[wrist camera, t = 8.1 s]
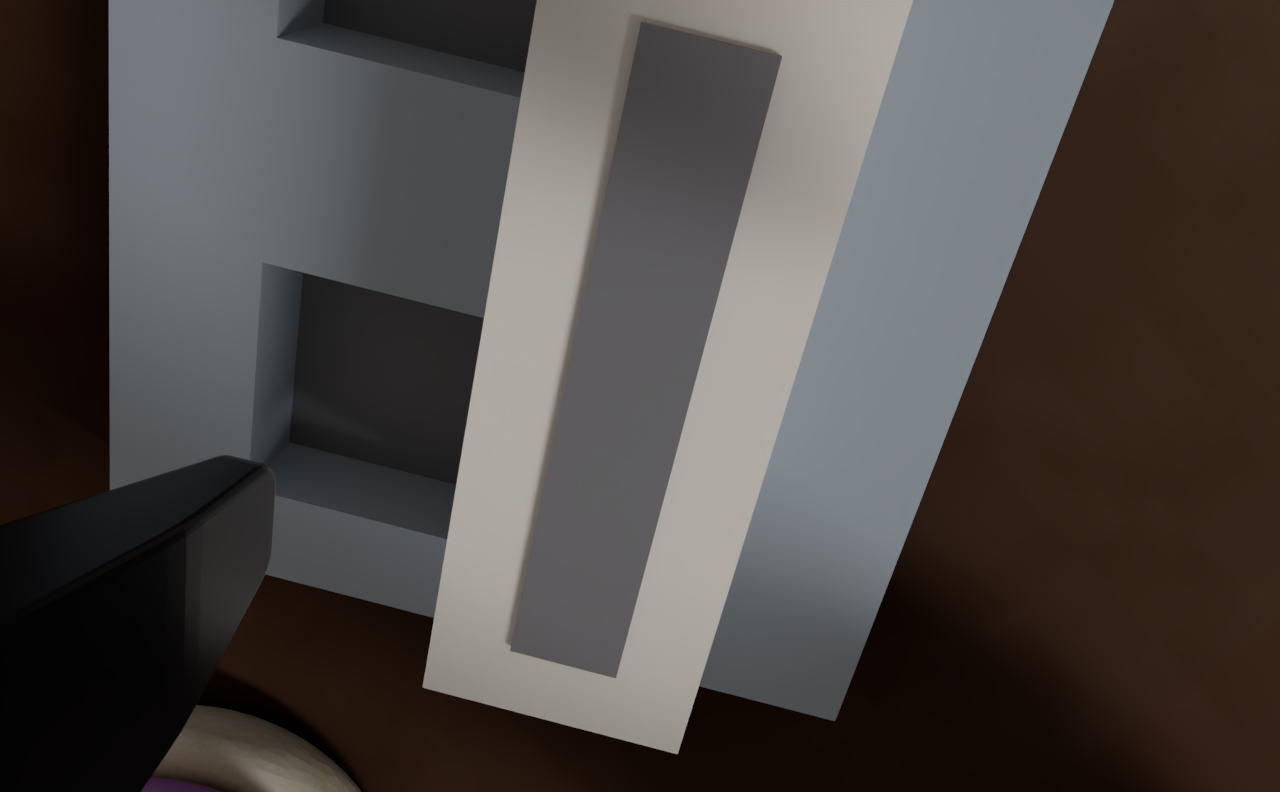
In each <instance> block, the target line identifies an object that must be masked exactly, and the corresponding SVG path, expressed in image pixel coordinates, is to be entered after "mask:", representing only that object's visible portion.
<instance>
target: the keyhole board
mask: <svg viewBox="0 0 1280 792" xmlns="http://www.w3.org/2000/svg"><path fill="white" fill-rule="evenodd" d="M536 2H537V0H109V337H110V490H113V489H116V488H119V487H122V486H125V485H128V484H132V483H135V482H138V481H141V480H144V479H147V478H150V477H154V476H157V475H160V474H163V473H166V472H169V471H172V470H176V469H179V468H182V467H185V466H188V465H191V464H194V463H198V462H201V461H204V460H207V459H210V458H213V457H216V456H220V455H231V456H235V457H239V458H243V459H247V460H251V461H255V462H259V463H263V464H266V465H269V466H270V468H271V469H272V470H273V472H274V475H275V480H276V489H275V506H274V522H273V538H272V551H271V557H270V561H269V565H268V568H267V571H266V573H265V574H266V575H270V576H274V577H278V578H282V579H286V580H289V581H293V582H297V583H301V584H305V585H309V586H313V587H317V588H320V589H324V590H328V591H332V592H336V593H340V594H344V595H348V596H351V597H355V598H359V599H363V600H367V601H371V602H375V603H379V604H382V605H386V606H390V607H394V608H398V609H402V610H406V611H410V612H413V613H417V614H421V615H425V616H429V617H433V618H434V615H435V609H436V603H437V597H438V591H439V585H440V579H441V573H442V567H443V561H444V555H445V549H446V543H447V537H448V531H449V525H450V519H451V513H452V507H453V501H454V495H455V489H456V483H457V477H458V471H459V465H460V459H461V453H462V447H463V441H464V435H465V429H466V423H467V417H468V411H469V405H470V399H471V393H472V387H473V381H474V375H475V369H476V363H477V357H478V351H479V345H480V339H481V333H482V327H483V321H484V315H485V309H486V303H487V297H488V291H489V285H490V279H491V273H492V267H493V261H494V255H495V249H496V243H497V237H498V231H499V225H500V219H501V213H502V207H503V201H504V195H505V189H506V183H507V177H508V171H509V165H510V159H511V153H512V147H513V141H514V135H515V128H516V122H517V116H518V110H519V104H520V98H521V92H522V86H523V80H524V74H525V68H526V62H527V56H528V50H529V44H530V38H531V32H532V26H533V20H534V14H535V8H536ZM1113 2H1114V0H913V2H912V6H911V9H910V12H909V15H908V18H907V22H906V25H905V28H904V31H903V34H902V38H901V41H900V44H899V47H898V50H897V54H896V57H895V60H894V63H893V66H892V70H891V73H890V76H889V79H888V82H887V86H886V89H885V92H884V95H883V98H882V102H881V105H880V108H879V111H878V114H877V118H876V121H875V124H874V127H873V130H872V134H871V137H870V140H869V143H868V147H867V150H866V153H865V156H864V159H863V163H862V166H861V169H860V172H859V175H858V179H857V182H856V185H855V188H854V191H853V195H852V198H851V201H850V204H849V207H848V211H847V214H846V217H845V220H844V223H843V227H842V230H841V233H840V236H839V239H838V243H837V246H836V249H835V252H834V255H833V259H832V262H831V265H830V268H829V271H828V275H827V278H826V281H825V284H824V287H823V291H822V294H821V297H820V300H819V303H818V307H817V310H816V313H815V316H814V319H813V323H812V326H811V329H810V332H809V335H808V339H807V342H806V345H805V348H804V351H803V355H802V358H801V361H800V364H799V367H798V371H797V374H796V377H795V380H794V383H793V387H792V390H791V393H790V396H789V399H788V403H787V406H786V409H785V412H784V415H783V419H782V422H781V425H780V428H779V432H778V435H777V438H776V441H775V444H774V448H773V451H772V454H771V457H770V460H769V464H768V467H767V470H766V473H765V476H764V480H763V483H762V486H761V489H760V492H759V496H758V499H757V502H756V505H755V508H754V512H753V515H752V518H751V521H750V524H749V528H748V531H747V534H746V537H745V540H744V544H743V547H742V550H741V553H740V556H739V560H738V563H737V566H736V569H735V572H734V576H733V579H732V582H731V585H730V588H729V592H728V595H727V598H726V601H725V604H724V608H723V611H722V614H721V617H720V620H719V624H718V627H717V630H716V633H715V636H714V640H713V643H712V646H711V649H710V652H709V656H708V659H707V662H706V665H705V668H704V672H703V675H702V678H701V681H700V684H699V686H700V687H704V688H708V689H712V690H716V691H720V692H724V693H727V694H731V695H735V696H739V697H743V698H747V699H751V700H755V701H758V702H762V703H766V704H770V705H774V706H778V707H782V708H786V709H789V710H793V711H797V712H801V713H805V714H809V715H813V716H817V717H820V718H824V719H828V720H832V721H835V720H836V718H837V715H838V713H839V710H840V707H841V705H842V702H843V700H844V697H845V695H846V692H847V689H848V687H849V684H850V682H851V679H852V677H853V674H854V671H855V669H856V666H857V664H858V661H859V658H860V656H861V653H862V651H863V648H864V646H865V643H866V640H867V638H868V635H869V633H870V630H871V627H872V625H873V622H874V620H875V617H876V615H877V612H878V609H879V607H880V604H881V602H882V599H883V596H884V594H885V591H886V589H887V586H888V584H889V581H890V578H891V576H892V573H893V571H894V568H895V565H896V563H897V560H898V558H899V555H900V553H901V550H902V547H903V545H904V542H905V540H906V537H907V534H908V532H909V529H910V527H911V524H912V522H913V519H914V516H915V514H916V511H917V509H918V506H919V503H920V501H921V498H922V496H923V493H924V491H925V488H926V485H927V483H928V480H929V478H930V475H931V472H932V470H933V467H934V465H935V462H936V460H937V457H938V454H939V452H940V449H941V447H942V444H943V441H944V439H945V436H946V434H947V431H948V429H949V426H950V423H951V421H952V418H953V416H954V413H955V410H956V408H957V405H958V403H959V400H960V398H961V395H962V392H963V390H964V387H965V385H966V382H967V379H968V377H969V374H970V372H971V369H972V367H973V364H974V361H975V359H976V356H977V354H978V351H979V348H980V346H981V343H982V341H983V338H984V336H985V333H986V330H987V328H988V325H989V323H990V320H991V318H992V315H993V312H994V310H995V307H996V305H997V302H998V299H999V297H1000V294H1001V292H1002V289H1003V287H1004V284H1005V281H1006V279H1007V276H1008V274H1009V271H1010V268H1011V266H1012V263H1013V261H1014V258H1015V256H1016V253H1017V250H1018V248H1019V245H1020V243H1021V240H1022V237H1023V235H1024V232H1025V230H1026V227H1027V225H1028V222H1029V219H1030V217H1031V214H1032V212H1033V209H1034V206H1035V204H1036V201H1037V199H1038V196H1039V194H1040V191H1041V188H1042V186H1043V183H1044V181H1045V178H1046V175H1047V173H1048V170H1049V168H1050V165H1051V163H1052V160H1053V157H1054V155H1055V152H1056V150H1057V147H1058V144H1059V142H1060V139H1061V137H1062V134H1063V132H1064V129H1065V126H1066V124H1067V121H1068V119H1069V116H1070V113H1071V111H1072V108H1073V106H1074V103H1075V101H1076V98H1077V95H1078V93H1079V90H1080V88H1081V85H1082V82H1083V80H1084V77H1085V75H1086V72H1087V70H1088V67H1089V64H1090V62H1091V59H1092V57H1093V54H1094V51H1095V49H1096V46H1097V44H1098V41H1099V39H1100V36H1101V33H1102V31H1103V28H1104V26H1105V23H1106V20H1107V18H1108V15H1109V13H1110V10H1111V8H1112V5H1113Z"/></svg>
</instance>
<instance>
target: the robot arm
mask: <svg viewBox="0 0 1280 792" xmlns="http://www.w3.org/2000/svg"><path fill="white" fill-rule="evenodd" d="M275 489H276V480H275V475H274V472H273V470H272V469H271V468H270V466H269V465H266V464H263V463H259V462H255V461H251V460H247V459H243V458H239V457H235V456H231V455H220V456H216V457H213V458H210V459H207V460H204V461H201V462H198V463H194V464H191V465H188V466H185V467H182V468H179V469H176V470H172V471H169V472H166V473H163V474H160V475H157V476H154V477H150V478H147V479H144V480H141V481H138V482H135V483H132V484H128V485H125V486H122V487H119V488H116V489H113V490H110V491H106V492H103V493H100V494H97V495H94V496H91V497H88V498H84V499H81V500H78V501H75V502H72V503H69V504H66V505H62V506H59V507H56V508H53V509H50V510H47V511H43V512H40V513H37V514H34V515H31V516H28V517H25V518H21V519H18V520H15V521H12V522H9V523H6V524H3V525H0V792H141V791H142V789H143V788H144V786H145V785H146V784H147V782H148V781H149V779H150V778H151V776H152V775H153V773H154V772H155V770H156V769H157V768H158V766H159V765H160V763H161V762H162V760H163V759H164V757H165V756H166V754H167V753H168V751H169V750H170V748H171V747H172V745H173V744H174V742H175V741H176V739H177V737H178V736H179V734H180V733H181V731H182V730H183V728H184V726H185V724H186V723H187V721H188V719H189V717H190V716H191V714H192V712H193V710H194V708H195V707H196V705H197V703H198V701H199V699H200V697H201V695H202V694H203V692H204V690H205V688H206V686H207V684H208V682H209V680H210V678H211V677H212V675H213V673H214V671H215V669H216V667H217V665H218V663H219V661H220V660H221V658H222V656H223V654H224V652H225V650H226V648H227V646H228V644H229V643H230V641H231V639H232V637H233V635H234V633H235V631H236V629H237V627H238V626H239V624H240V622H241V620H242V618H243V616H244V614H245V612H246V610H247V608H248V607H249V605H250V603H251V601H252V599H253V597H254V595H255V593H256V591H257V590H258V588H259V586H260V584H261V582H262V580H263V578H264V576H265V573H266V571H267V568H268V565H269V561H270V557H271V551H272V538H273V522H274V506H275Z"/></svg>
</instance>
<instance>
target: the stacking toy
mask: <svg viewBox="0 0 1280 792" xmlns="http://www.w3.org/2000/svg"><path fill="white" fill-rule="evenodd" d="M141 792H361V791H360V789H359V788H358V786H357V785H356V784H355V783H354V782H353V780H352V779H351V778H350V777H349V776H348V775H347V774H346V773H345V772H344V771H343V770H342V769H341V768H340V767H339V766H338V765H337V764H336V763H335V762H334V761H332V760H331V759H330V758H329V757H327V756H326V755H325V754H324V753H323V752H321V751H320V750H318V749H317V748H316V747H314V746H313V745H311V744H310V743H309V742H307V741H305V740H304V739H302V738H300V737H299V736H297V735H296V734H294V733H292V732H290V731H288V730H286V729H284V728H282V727H280V726H278V725H275V724H273V723H270V722H268V721H265V720H263V719H261V718H258V717H255V716H252V715H248V714H245V713H241V712H237V711H234V710H229V709H224V708H218V707H210V706H202V705H196V707H195V708H194V710H193V712H192V714H191V716H190V717H189V719H188V721H187V723H186V724H185V726H184V728H183V730H182V731H181V733H180V734H179V736H178V737H177V739H176V741H175V742H174V744H173V745H172V747H171V748H170V750H169V751H168V753H167V754H166V756H165V757H164V759H163V760H162V762H161V763H160V765H159V766H158V768H157V769H156V770H155V772H154V773H153V775H152V776H151V778H150V779H149V781H148V782H147V784H146V785H145V786H144V788H143V789H142V791H141Z"/></svg>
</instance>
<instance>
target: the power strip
mask: <svg viewBox="0 0 1280 792" xmlns="http://www.w3.org/2000/svg"><path fill="white" fill-rule="evenodd" d="M912 2H913V0H537V2H536V8H535V14H534V20H533V26H532V32H531V38H530V44H529V50H528V56H527V62H526V68H525V74H524V80H523V86H522V92H521V98H520V104H519V110H518V116H517V122H516V128H515V135H514V141H513V147H512V153H511V159H510V165H509V171H508V177H507V183H506V189H505V195H504V201H503V207H502V213H501V219H500V225H499V231H498V237H497V243H496V249H495V255H494V261H493V267H492V273H491V279H490V285H489V291H488V297H487V303H486V309H485V315H484V321H483V327H482V333H481V339H480V345H479V351H478V357H477V363H476V369H475V375H474V381H473V387H472V393H471V399H470V405H469V411H468V417H467V423H466V429H465V435H464V441H463V447H462V453H461V459H460V465H459V471H458V477H457V483H456V489H455V495H454V501H453V507H452V513H451V519H450V525H449V531H448V537H447V543H446V549H445V555H444V561H443V567H442V573H441V579H440V585H439V591H438V597H437V603H436V609H435V615H434V621H433V627H432V634H431V640H430V646H429V652H428V658H427V664H426V670H425V676H424V682H423V688H426V689H430V690H434V691H438V692H441V693H445V694H449V695H453V696H457V697H460V698H464V699H468V700H472V701H476V702H480V703H483V704H487V705H491V706H495V707H499V708H502V709H506V710H510V711H514V712H518V713H522V714H525V715H529V716H533V717H537V718H541V719H544V720H548V721H552V722H556V723H560V724H564V725H567V726H571V727H575V728H579V729H583V730H586V731H590V732H594V733H598V734H602V735H605V736H609V737H613V738H617V739H621V740H625V741H628V742H632V743H636V744H640V745H644V746H647V747H651V748H655V749H659V750H663V751H667V752H670V753H674V754H678V752H679V749H680V745H681V742H682V739H683V736H684V733H685V729H686V726H687V723H688V720H689V716H690V713H691V710H692V707H693V704H694V700H695V697H696V694H697V691H698V688H699V684H700V681H701V678H702V675H703V672H704V668H705V665H706V662H707V659H708V656H709V652H710V649H711V646H712V643H713V640H714V636H715V633H716V630H717V627H718V624H719V620H720V617H721V614H722V611H723V608H724V604H725V601H726V598H727V595H728V592H729V588H730V585H731V582H732V579H733V576H734V572H735V569H736V566H737V563H738V560H739V556H740V553H741V550H742V547H743V544H744V540H745V537H746V534H747V531H748V528H749V524H750V521H751V518H752V515H753V512H754V508H755V505H756V502H757V499H758V496H759V492H760V489H761V486H762V483H763V480H764V476H765V473H766V470H767V467H768V464H769V460H770V457H771V454H772V451H773V448H774V444H775V441H776V438H777V435H778V432H779V428H780V425H781V422H782V419H783V415H784V412H785V409H786V406H787V403H788V399H789V396H790V393H791V390H792V387H793V383H794V380H795V377H796V374H797V371H798V367H799V364H800V361H801V358H802V355H803V351H804V348H805V345H806V342H807V339H808V335H809V332H810V329H811V326H812V323H813V319H814V316H815V313H816V310H817V307H818V303H819V300H820V297H821V294H822V291H823V287H824V284H825V281H826V278H827V275H828V271H829V268H830V265H831V262H832V259H833V255H834V252H835V249H836V246H837V243H838V239H839V236H840V233H841V230H842V227H843V223H844V220H845V217H846V214H847V211H848V207H849V204H850V201H851V198H852V195H853V191H854V188H855V185H856V182H857V179H858V175H859V172H860V169H861V166H862V163H863V159H864V156H865V153H866V150H867V147H868V143H869V140H870V137H871V134H872V130H873V127H874V124H875V121H876V118H877V114H878V111H879V108H880V105H881V102H882V98H883V95H884V92H885V89H886V86H887V82H888V79H889V76H890V73H891V70H892V66H893V63H894V60H895V57H896V54H897V50H898V47H899V44H900V41H901V38H902V34H903V31H904V28H905V25H906V22H907V18H908V15H909V12H910V9H911V6H912Z"/></svg>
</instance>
